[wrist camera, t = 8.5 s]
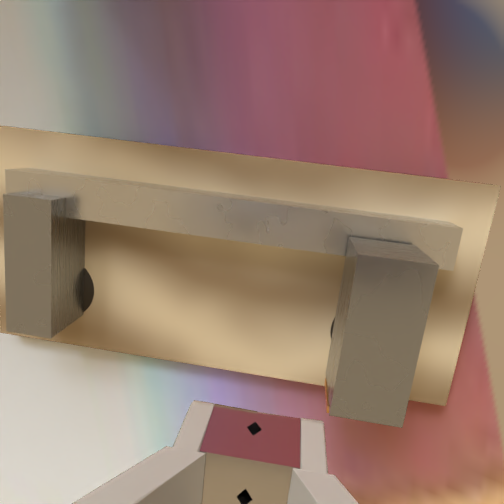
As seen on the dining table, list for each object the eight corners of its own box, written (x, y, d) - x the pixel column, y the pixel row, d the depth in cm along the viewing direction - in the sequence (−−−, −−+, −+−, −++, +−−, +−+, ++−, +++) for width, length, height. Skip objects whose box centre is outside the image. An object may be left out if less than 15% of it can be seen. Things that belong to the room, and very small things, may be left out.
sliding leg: (343, 228, 22) (357, 253, 16) (406, 237, 21) (440, 265, 16) (322, 359, 23) (327, 420, 18) (379, 368, 23) (402, 433, 18)
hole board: (9, 126, 24) (-6, 125, 23) (490, 184, 22) (501, 186, 21) (13, 324, 27) (0, 332, 26) (439, 394, 25) (445, 406, 23)
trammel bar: (29, 167, 23) (-14, 170, 20) (448, 221, 21) (474, 233, 18) (31, 306, 25) (-9, 328, 22) (415, 367, 23) (433, 401, 20)
